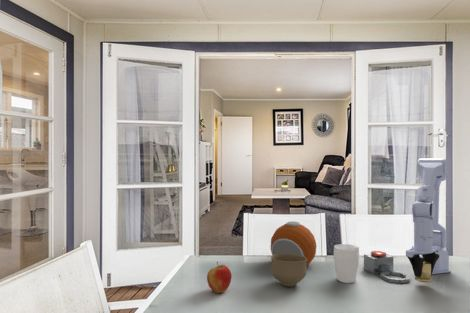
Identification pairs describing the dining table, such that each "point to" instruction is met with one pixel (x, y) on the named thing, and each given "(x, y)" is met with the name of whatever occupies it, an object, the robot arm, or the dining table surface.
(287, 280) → the bowl
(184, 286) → the dining table surface
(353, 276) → the cup
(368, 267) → the red button switch
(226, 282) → the apple
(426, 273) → the knob
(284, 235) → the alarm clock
